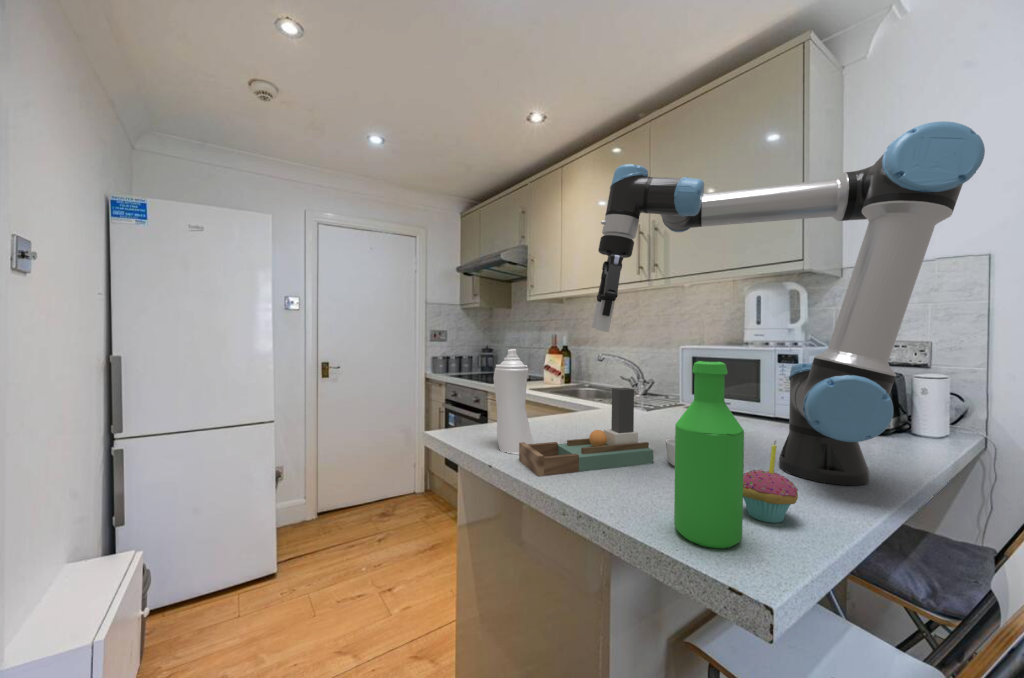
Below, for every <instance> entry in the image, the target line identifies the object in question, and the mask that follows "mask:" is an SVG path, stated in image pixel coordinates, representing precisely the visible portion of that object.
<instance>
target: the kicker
mask: <svg viewBox="0 0 1024 678" xmlns="http://www.w3.org/2000/svg"><path fill="white" fill-rule="evenodd" d="M634 411H635V389H634V388H631V387H612V388H611V429H610V428H609V429H603V432H604V433H605V434H606V436H607V443H606V444H608V445H618V444H629V443H639V433H638V431H635V430H634V428H635V426H634V425H635V423H634V421H635V418H634V417H635V415H634V414H635V413H634Z"/></svg>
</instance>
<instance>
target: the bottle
mask: <svg viewBox="0 0 1024 678" xmlns="http://www.w3.org/2000/svg"><path fill="white" fill-rule="evenodd" d="M691 372H692V373H693V374H694V378H693V379H694V381H693V382H694V383H693V385H694V386H693V388H694V389H693V392H694V393H693V401H692V402H691V403H690V405H689V406H688V407H687V408H686V410H685V411H684V413H683V414H682V415H681V416H680V418H679V419H678V420H677V421H676V423H675V425H674V427H675V428H674V429H675V436H674V438H675V467H674V502H673V503H674V510H673V511H674V515H673V516H674V518H673V523H674V528H675V529H676V530H677V531H678V532H679V533H680V535H681V536H682V537H684V539H686V540H688V541H689V542H691V543H694V544H696V545H699V546H700V547H701V546H702V547H705V548H710V549H729V548H731V547H733V546H735V545H736V544H739V543H740V542H741V541H742V539H743V521H744V520H743V519H744V517H743V513H744V498H743V474H744V459H745V456H744V455H745V453H744V452H745V451H744V450H745V430H744V429H743V427H742V426H741V424H740V422H739V421H738V420H737V418H736V417H735V415H734V414H733V412H732V411H731V410H730V408H729V407H728V405H727V404H726V402H725V387H726V386H725V383H726V381H725V379H726V378H725V377H726V375H727V374H729V372H728V369H727V364H726V363H724V362H722V361H709V360H697V361H696V362H694V363H693V367H692V371H691Z"/></svg>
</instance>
